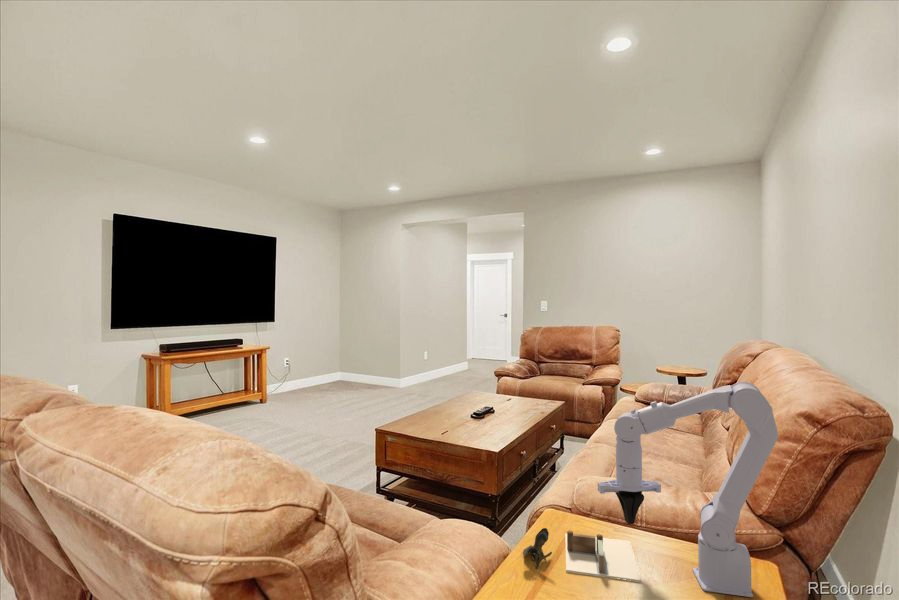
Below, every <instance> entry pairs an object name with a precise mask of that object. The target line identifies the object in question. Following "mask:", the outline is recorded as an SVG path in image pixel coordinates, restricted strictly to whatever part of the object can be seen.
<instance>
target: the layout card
mask: <svg viewBox="0 0 899 600" xmlns="http://www.w3.org/2000/svg"><path fill="white" fill-rule="evenodd" d="M564 538H565V540H564V542H565V572H566V573H570V574H577V575H584V576H585V575H586V576H590V577H591V576H592V577H598V576H599V578H605V577H609V578H608V579H612V578H620V579H626V580H625V581H627V580H631V581H630V582H634V581H635V582H634V583H641V582H642V583H643V579H642V577H641V574H640V570H639V567H638V562H637V559H636V557H635V554H634V550H633V547H632V543H631V541H630V540H625V539H616V538H607V537H603V553H604V572H600V571H599V563H598V554H597V536H595V538H596V554H591V553H583V552H575V551H568V550H567V532H566V533H565V534H564ZM620 579H619V580H620Z"/></svg>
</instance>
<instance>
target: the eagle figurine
mask: <svg viewBox="0 0 899 600" xmlns="http://www.w3.org/2000/svg"><path fill="white" fill-rule="evenodd" d="M549 535H550V533H549V529H547V528H546V527H543V528H542V529H541V530H539V532H538V533H536V535H535V538H534V539H535V540H534V544H533V545H531V544H530V545H528V546H527V547H526V548H524V549H523V551H522V555H524V556H525V555H528V554H530V555H531V556H532V559H531V561H532V562H535V568H534V569H535V570H537V569H538V567H539V566H540V565H541V563H542V562H543V561H545V562H548V560H547V558H548V557H550V556H551V555H552V554H553V551H550V552H549V553H546V554H544V552H543V547H544V545H545V543H547V541H548V540H549Z"/></svg>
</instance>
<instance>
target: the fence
mask: <svg viewBox="0 0 899 600" xmlns="http://www.w3.org/2000/svg"><path fill="white" fill-rule="evenodd" d="M566 534H567V550H568V551H575V552H583V553H591V554H596V538H595V537H597V554H598V540H602V544H603V538H604V537H603V535H602V534H599V533H598V534H596V536H594V535H586V534H579V533H574V532H573V531H572V530H568V531H566Z"/></svg>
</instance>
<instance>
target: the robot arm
mask: <svg viewBox="0 0 899 600" xmlns="http://www.w3.org/2000/svg"><path fill="white" fill-rule="evenodd" d="M730 409H732V410H733V412H734V413H735V414H736V416H738V417H739V418H740V419H741V420H742V421H743V423H744V425H745V426H746V428H747V430H748V432H747V433H746V436H745V438H744V440H743V442H742V444H741V446H740V447H739V449H738V451H737V454H736V456H735V457H734V460H733V461H732V463H731V466H730V468H729V469H728V472H726V476H725V477H724V479H723V481H722V483H721V485H720V487H719V489H718V491H717V493H715V494H714V495H713V496H712V498H711V500H710V501H709V502H708V503H706V504H704V505H703V506H702V507H701V509H700V511H699V516H700V532H699V533H698V535H697V538H698V540H697V545H698V547H697V548H698V550H697V551H698V553H697V554H698V557H697V558H698V563H697V564H698V567H692V572H693V573H694V575H695V578H696V580H697V582H698V584H699V586H700V587H701V589H702V591H705V592H710V593H717V594H718V593H719V594H724V595H732V596H739V597H746V598H753V597H754V593H752V592H753V591H752V590H753V589H752V560H751V556H750V552H749V550H748V548H747V546H746V545H745V544H742V543H739V542H737V541H736V529H737V526H738V524H739V520H740V516H741V511H742V509H743V507H744V505H745V503H746V500H747V499H748V497H749V494H750V493H751V491H752V489H753V487H754V486H755V483H756V482H757V480H758V478H759V476H760V475H761V472H762V469H764V466H765V464H766V462H767V461H768V458H769V456H770V455H771V452H772V450H773V449H774V447H775V444H776V443H777V441H778V438H779V431H778V427H777V425H776V420H775V415H774V411H773V406H771V404H770V402H769V401H768V400H767V399H766V397H765V395H764V394H763V393H762V392H761V390H760V389H759V388H758V387H757V386H756V385H755V384H752V383H750V382H747V381H739V382H736V383H734V384H732V385H730V384H729V385H728V384H727V385H723V386H719V387H716V388H712V389H710V390H707V391H704V392H702V393H699V394H697V395H694V396H691V397H688V398H686V399H684V400H680V401H678V402H676V403H671V404H668V403H665V402H663V401H660V402H658V401H656V400H654V401H652V402H650V405H649V406H645V407H643V408H640V409H637V410H636V408H632V409H631V410H630V412H629V411H628V412H623V413H621V414H620V415H619V417H618V418H617V419H616V420H615V423H614V426H613V429H614V433H615V435H616V437H615V439H616V444H615V469H616V470H615V473H616V474H615V478H616V479H613V480H607V481H599V482H598V481H597V491H598V492H599V493H600V494H605V493H615V495H616V496H617V498H618V500H619V504H620V506H621V509H622V512H623V516H624V521H625V522H626V523H627V525H635V521H636V519H637V514H638V512H639V509H640V507H641V505H642V504H643V502H644V501H645V495H644V494H643V492H644V493H645V492H655V493H662V485H661V483H660V482H659V481H656V480H655V481H651V480H644V479H643V459H642V458H643V457H642V454H643V452H642V451H643V450H642V449H643V448H642V447H643V446H642V444H641V439H642V437H641V435H648V434H652V433H656V432H659V431H663V430H665V429H669V428H671V427H674V426H675V424H676V421H677V420H678V419H681V418H685V417H688V416H692V415H696V414H700V413H703V412H707V411H711V410H716V411H720V412H724V413H726V414H730V413H731V412H730Z"/></svg>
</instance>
